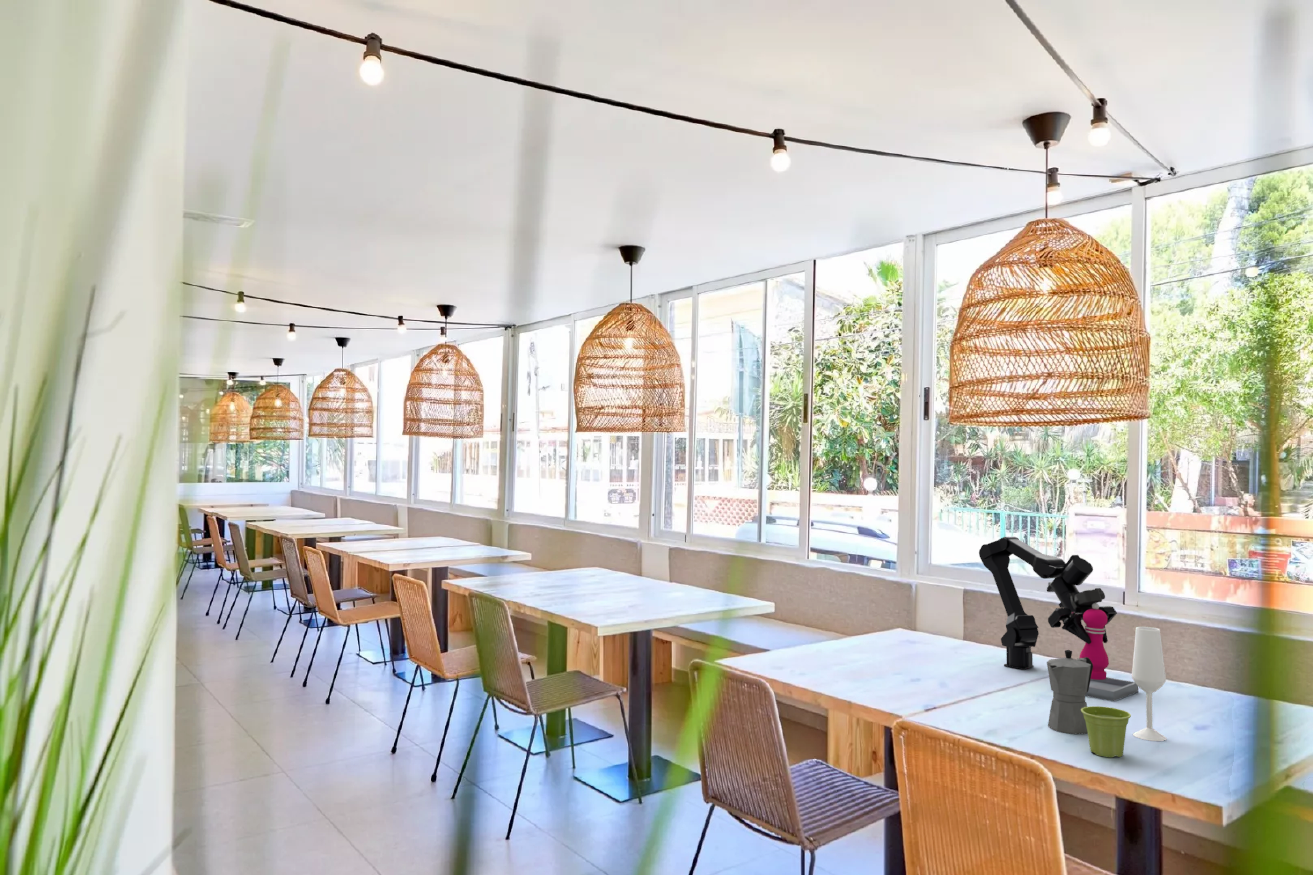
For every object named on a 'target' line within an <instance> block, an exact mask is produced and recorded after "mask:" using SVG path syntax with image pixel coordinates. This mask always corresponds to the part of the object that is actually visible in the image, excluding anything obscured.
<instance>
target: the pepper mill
mask: <svg viewBox="0 0 1313 875" xmlns="http://www.w3.org/2000/svg"><path fill="white" fill-rule="evenodd" d="M1099 607H1100V605H1099V604H1098V603H1094V604H1092V608H1093V609H1088V610H1086V611H1085V613H1084V614H1083V620H1082V621H1083V622H1084V624H1085V625H1084V629H1085V630H1086V632H1087V634H1088V636H1089V638H1090V640H1091V643H1090V644H1087V643H1086V642H1085V643H1084V645H1083V648H1082V649H1081V651H1080V654H1079V657H1078V658H1084V657H1088V658H1089V659H1090V660H1091V662H1092V663H1093V670H1092V674H1091V679H1095V680H1104V679H1106V677H1107V671H1106V668H1108V666H1109V665H1110V664H1109V662H1110V660H1109V656H1108V654H1107V653H1108V652H1107V651H1106V648H1105V646H1104V642H1103V634H1104V633H1105V629H1106V626H1107V625H1108V624H1107V621H1108V619H1107V615H1106V614H1105V612H1103V611H1102V610H1099ZM1106 624H1107V625H1106ZM1104 626H1105V628H1104Z"/></svg>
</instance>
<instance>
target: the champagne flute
mask: <svg viewBox="0 0 1313 875" xmlns="http://www.w3.org/2000/svg"><path fill="white" fill-rule="evenodd" d="M1133 647H1134V648H1133V657H1132V669H1131V678H1132V680H1133V682H1135V683H1136V684H1137V685H1138V688H1139V689H1140V690H1142V691H1143V692H1144V693H1145V710H1146V711H1145V713H1146V714H1145V715H1146V720H1145V722H1146V727H1144V728H1142V729H1140V730H1137V731H1136V732H1134V733H1132V736H1133V737H1135V738H1138V739H1141V740H1144V741H1150V742H1164V740H1165V741H1167V739H1168V738H1167V737H1166V736H1164V735H1163V734H1162V733H1160V732H1159V731H1158V730H1155V729H1154V728H1153V693H1155V692H1157V691H1158V690H1159V689H1161V688H1162V687H1163V686H1164V685H1165V683H1166V681H1167V676H1166V668H1165V661H1164V651H1163V643H1162V635H1161V628H1157V627H1153V626H1151V627H1150V626H1137V627H1135V633H1134V646H1133Z"/></svg>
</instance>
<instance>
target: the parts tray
mask: <svg viewBox="0 0 1313 875" xmlns="http://www.w3.org/2000/svg"><path fill="white" fill-rule="evenodd" d="M1137 693H1139V686H1138V685H1137V684H1136V683H1135V682H1134V681H1131V680H1125V679H1119V678H1114V677H1108V676H1106V679H1104V680H1095V679H1091V680H1090V685H1089V690H1088V692H1087V693H1086V694H1085V697H1088V698H1094V699H1099V700H1103V701H1109V702H1116V701H1118V700H1121V699H1124V698H1127V697H1130V696H1131V695H1134V694H1137Z"/></svg>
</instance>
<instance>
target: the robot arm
mask: <svg viewBox="0 0 1313 875" xmlns="http://www.w3.org/2000/svg"><path fill="white" fill-rule="evenodd" d="M1012 555H1013V556H1015V557H1017V558H1019V559H1020V560H1022V561H1024V562H1025V563H1027V564H1028V565H1030V566H1031V567H1032V570H1033V572H1034V573H1035V574H1036V575H1037V576H1038V577H1039V578H1041V579H1053V580H1052V581H1051V582H1048V583H1047V587H1046V591H1047V593H1054V594H1055V595H1056V597H1057V599H1058V601H1059V603H1058V606H1059V607H1057V608H1055V609H1054V610H1053V611H1052V612H1051V614H1050V615H1049V616H1048V618H1047V622H1048V624H1049V626H1050V628H1053V629H1054V628H1060V627H1061V629H1062V630H1065V631H1066V632H1069V633H1071V634H1072V635H1074V636H1075V637H1076V638H1078V639H1080V640H1081V641H1083V642H1085V643H1087V644H1090V643H1091V640H1090V638H1089V636H1088V634H1087V632H1086V630H1085V626H1083V623H1082V621H1083V614H1084V613H1085V611H1086V610H1088V609H1093V608H1092V604H1094V603H1097V604H1098V603H1101V602H1103V600H1105V599H1106V595H1105V593H1104V591H1103V589H1101V587H1096V588H1093V589H1088V590H1087V589H1086V590H1083V591H1081V592H1080V591H1079V589H1078V588H1077V586H1080V585H1082V584H1084V582H1085V581H1086V580H1087V578H1089V576H1090V575H1091V574H1092V573H1093V572H1094V567H1093V565H1092V564H1091V563H1090V562H1088V560H1086V559H1084V558H1082V557H1080V555H1079V554H1071V556H1070V557H1069V559H1067V560H1068V561H1064V559H1062V558H1059V557H1057V556H1054V555H1050V554H1049V555H1048V554H1045V553H1042V552H1040V551H1038V550H1037V549H1035V548H1033V547H1032V546H1030V545H1028V544H1027V543H1025V542H1024V541H1022V540H1020V538H1018V537H1016V536H1003V537H1001V538H999V539H998V540H995V541H991V542H989V543H986V544H982V545H981V547H980V549H979V551H978V556H979V558H980V560H981V563H982V565H983V566H984V567H985V568H986V569H987V570H988V571H989V572H990V573H991V574H992V576H993V579H994V582H995V585H996V588H997V590H998V593H999V596H1000V599H1001V601H1002V604H1003V606H1004V610H1005V613H1006V616H1007V618H1006V622H1005V623H1006V624H1005V629H1006V631H1005V633H1004V634H1003V636H1002V637H1001V638H1000V642H1001V645H1002V646H1003V647H1006V648H1005V649H1006V650H1005V651H1006V652H1005V653H1006V663H1004V664H1003V666H1004V667H1007V666H1008V667H1007V668H1012V669H1013V668H1014V669H1018V668H1021V669H1020V670H1027V669H1026V668H1028V669H1030V668H1034V666H1035V665H1034V664H1033V663H1034V662H1033V652H1032V647H1033V648H1035V647H1036V645H1037V642H1038V637H1039V634H1040V633H1039V630H1038V629H1039V626H1038V624H1037V622H1036V619H1035V616H1034V615H1033V614H1029V615H1028V614H1027V613H1026V612H1025V610H1024V608H1023V604H1022V602H1021V600H1020V597H1019V594H1018V592H1017V589H1016V586H1015V584H1014V582H1013V578H1012V576H1011V573H1010V570H1009V565H1010V562H1011V559H1010V556H1012ZM1099 610H1102V611H1103V612H1105V614H1106V615H1107V619H1108V621H1107V624H1106V625H1105V626H1104V628H1105V633H1104V634H1103V644H1107V643H1108V635H1107V629H1106V626H1107V625H1108V624H1109V623H1111V622H1110V621H1112V620H1113V619H1114V618H1115V616H1116V615H1117V614H1118V613H1117V611H1116V609H1115V607H1113V606H1110V605H1106V606H1104V605H1103V606H1101V605H1099ZM1062 624H1063V625H1062Z"/></svg>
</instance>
